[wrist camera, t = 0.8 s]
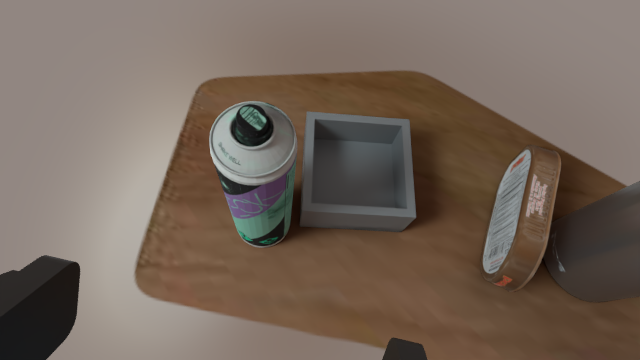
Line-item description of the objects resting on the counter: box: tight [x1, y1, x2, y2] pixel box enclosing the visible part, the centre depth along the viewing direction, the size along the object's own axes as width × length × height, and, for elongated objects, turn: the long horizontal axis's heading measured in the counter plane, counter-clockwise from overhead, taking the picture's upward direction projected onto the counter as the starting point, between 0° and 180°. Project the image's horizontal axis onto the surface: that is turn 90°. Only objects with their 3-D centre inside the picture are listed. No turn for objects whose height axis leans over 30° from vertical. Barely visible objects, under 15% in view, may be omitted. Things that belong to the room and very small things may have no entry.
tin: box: [480, 145, 561, 292], centre depth 39 cm, size 15×3×8 cm, turn 157°
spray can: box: [209, 101, 297, 248], centre depth 31 cm, size 6×6×20 cm
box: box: [300, 112, 416, 232], centre depth 41 cm, size 11×11×5 cm
